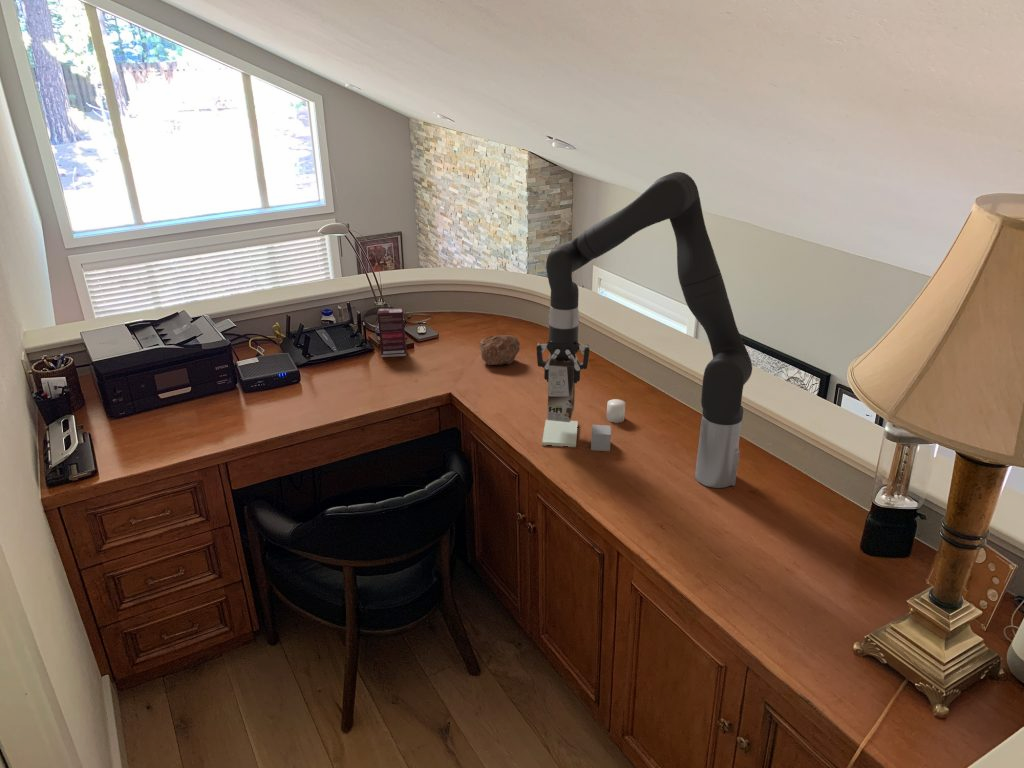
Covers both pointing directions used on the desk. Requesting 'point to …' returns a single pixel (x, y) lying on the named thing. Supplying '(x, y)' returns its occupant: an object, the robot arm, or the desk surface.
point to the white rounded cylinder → (615, 410)
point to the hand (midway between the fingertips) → (562, 381)
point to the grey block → (601, 437)
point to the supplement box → (392, 332)
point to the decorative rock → (499, 349)
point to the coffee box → (561, 390)
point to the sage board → (560, 433)
